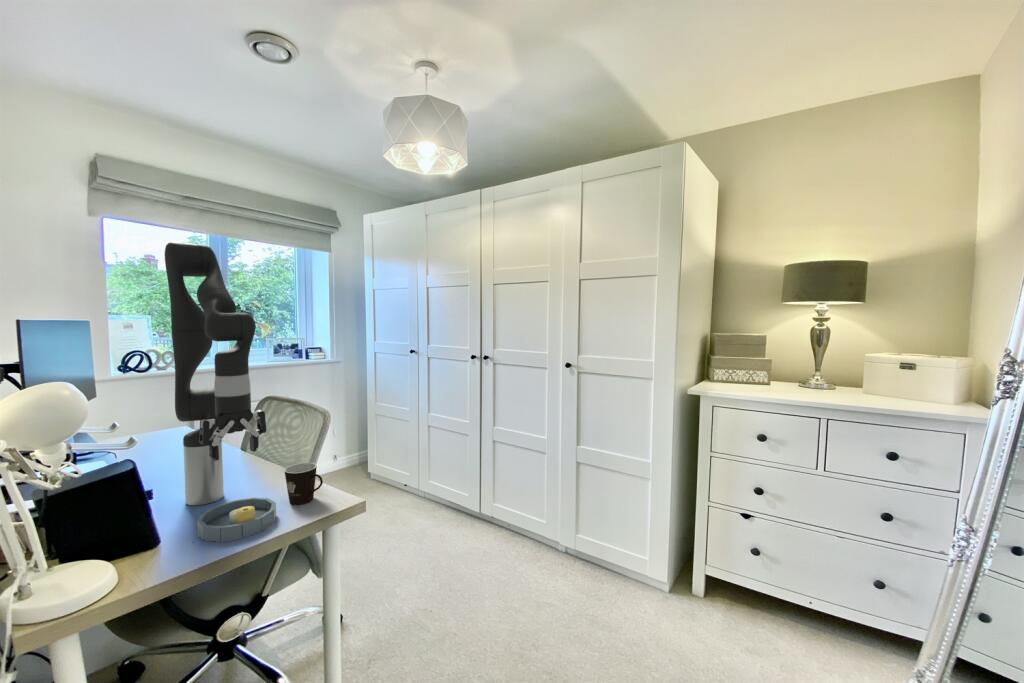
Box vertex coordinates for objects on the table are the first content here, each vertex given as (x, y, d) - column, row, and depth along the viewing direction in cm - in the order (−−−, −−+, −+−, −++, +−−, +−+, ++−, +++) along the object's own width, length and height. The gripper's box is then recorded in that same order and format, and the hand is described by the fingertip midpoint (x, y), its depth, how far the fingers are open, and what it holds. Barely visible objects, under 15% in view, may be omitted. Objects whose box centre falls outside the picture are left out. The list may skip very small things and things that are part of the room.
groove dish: (189, 527, 109) (189, 514, 108) (259, 504, 122) (259, 492, 122) (213, 549, 99) (212, 534, 98) (286, 521, 112) (286, 509, 112)
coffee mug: (281, 500, 125) (280, 467, 124) (311, 491, 131) (310, 460, 130) (294, 513, 117) (293, 478, 116) (325, 504, 123) (325, 470, 122)
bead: (240, 532, 104) (239, 514, 104) (234, 527, 107) (233, 509, 107) (257, 525, 108) (257, 508, 107) (251, 521, 110) (250, 504, 110)
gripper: (205, 399, 97) (207, 466, 98) (269, 390, 109) (271, 450, 110) (193, 394, 101) (196, 459, 103) (256, 386, 113) (258, 445, 114)
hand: (235, 455), depth 106 cm, fingers open, 8 cm apart
